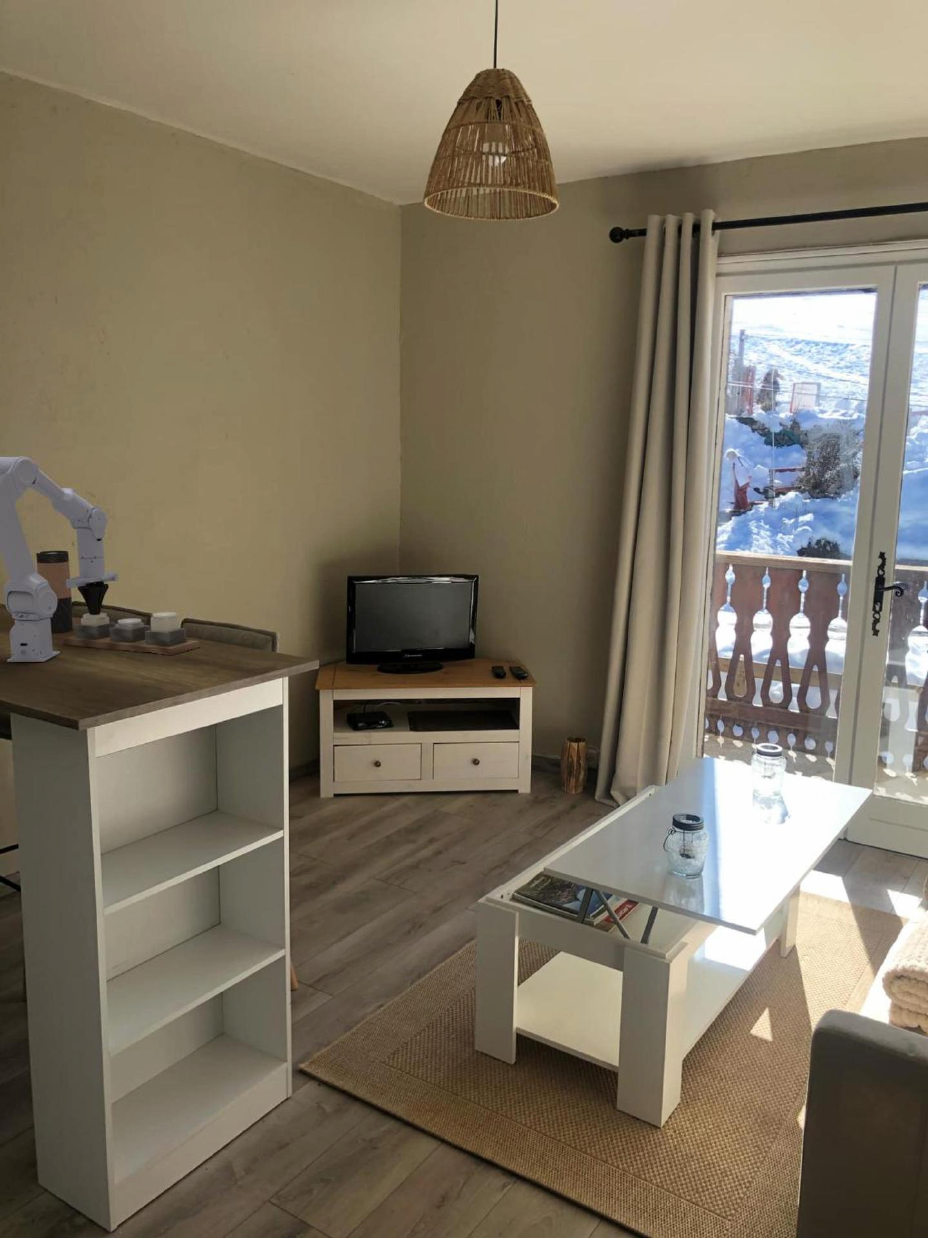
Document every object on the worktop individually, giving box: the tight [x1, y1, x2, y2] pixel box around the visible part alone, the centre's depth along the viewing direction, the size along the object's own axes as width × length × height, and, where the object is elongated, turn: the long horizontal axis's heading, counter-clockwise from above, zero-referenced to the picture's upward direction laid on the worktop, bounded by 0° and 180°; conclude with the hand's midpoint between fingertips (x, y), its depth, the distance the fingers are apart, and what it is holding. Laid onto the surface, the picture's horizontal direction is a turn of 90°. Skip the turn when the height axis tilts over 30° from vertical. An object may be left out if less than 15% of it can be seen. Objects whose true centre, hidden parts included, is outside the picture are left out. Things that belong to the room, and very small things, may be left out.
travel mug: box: [35, 550, 73, 634], centre depth 256 cm, size 8×8×20 cm
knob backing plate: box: [62, 621, 201, 656], centre depth 236 cm, size 32×10×4 cm, turn 66°
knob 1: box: [80, 612, 110, 626], centre depth 240 cm, size 5×5×4 cm
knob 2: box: [116, 617, 145, 629], centre depth 236 cm, size 5×5×4 cm
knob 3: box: [150, 611, 181, 633], centre depth 232 cm, size 5×5×4 cm
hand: (94, 614), depth 240 cm, fingers closed, pressing on knob 1
